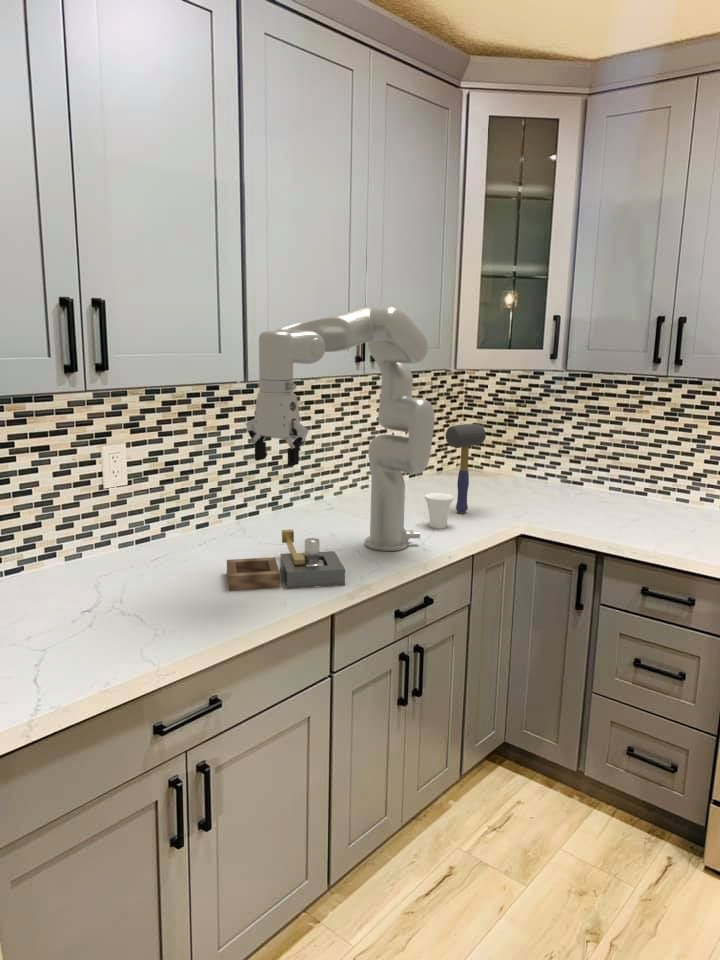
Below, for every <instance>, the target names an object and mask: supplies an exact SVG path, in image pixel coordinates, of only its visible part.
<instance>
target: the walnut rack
mask: <svg viewBox="0 0 720 960" xmlns="http://www.w3.org/2000/svg"><path fill="white" fill-rule="evenodd" d="M279 568H280V567H279V566H278V562H277V559H276V556H275V557H273V556H272V557H271V556H270V557H254V558H237V559H236V558H235V559H226V577H227V584H228V591H229V592H230V591H231V592H232V591H244V590H245V591H246V590H247V591H248V590H261V589H262V590H264V589H275V588H276V589H277V588H281V570H280V569H279Z"/></svg>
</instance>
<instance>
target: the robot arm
mask: <svg viewBox="0 0 720 960" xmlns="http://www.w3.org/2000/svg"><path fill="white" fill-rule="evenodd" d="M258 337H259V338H258V371H259V372H258V379H259V380H258V382H259V383H258V385H259V387H258V388H259V392H258V393H257V394H256V396H257V397H256V399H255V408H254V409H255V411H254V418H253V419H251V420H249V421H247V422H246V423H245V427H246V428H247V432H248V435H249V436H250V438H251V441H252V443H253V444H254V461H257V462H258V461H262V460H265V459H267V450H266V449H267V443H266V441H264V440H266V438H272V439H280V440H285V442H286V443H287V445H288V446H289V448H287V466H289V467H293V466H296V465H298V464H299V463H300V448H301V447H302V444H303V443H304V442H305V441H306V438H307V436H308V435H309V430H308V428H307V427H305V426H304V425H303V424H302V423H301V420H300V418H301V417H300V407H299V402H298V397H297V394H296V393H294V390H296V389H297V384H296V383H294V364H302V365H310V364H311V365H312V364H315V363H317V362H319V361H320V360H321V359H322V358H323V357H324V356H325V352H326V353H331V352H341V351H346V350H349V349H351V348H354V347H357V346H360V345H362V344H365V343H367V347H368V351H369V353H370V354H369V355H371V356H372V358H373V360H374V361H375V362H376V364H377V367H378V368H379V370H380V374H381V389H380V395H379V396H380V397H379V405H378V423H379V425H380V426H381V427H383V428H384V429H386V430H391V431H396V432H402V433H408V437H407V436H402V435H394V434H380V435H377V436H375V437H373V438H372V440H371V441H370V443H369V446H368V450H367V451H368V461H369V466H370V467H369V468H370V473H371V474H370V476H371V477H370V479H371V482H370V483H371V484H370V486H371V489H370V518H369V519H370V524H369V525H370V527H369V536H367V537H366V538H365V539H364V546H365V547H367V548H369V549H371V550H375V551H381V552H396V551H397V552H398V551H402V550H405V549H406V548H408V547H409V544H410V543H409V541H410V539H420V538H421V533H420V531H414V530H412V529H411V530H406V529H405V528H404V527H405V505H406V504H405V501H406V499H405V498H406V482H405V479H404V476H403V474H402V473H407V474H413V475H416V474H417V475H418V474H421V473H423V472H424V471H425V470H427V469H426V468H427V467H428V465H429V462H430V459H431V458H430V457H431V452H432V445H433V444H432V443H433V436H434V429H435V428H434V427H435V420H436V419H435V409H434V407H433V405H432V404H431V402H430V401H429V400H427V399H424V398H420V397H415V396H414V397H413V395H412V394H413V386H414V385H413V384H414V383H413V381H414V379H413V374H412V371H411V369H410V367H409V365H408V364H419V363H421V362H423V361H424V360H425V358H426V356H427V354H428V350H429V345H428V340H427V337H426V335H425V333H424V332H423V331H422V330H421V329H420V327H418V325H417V324H415V322H414V321H413V320H412V319H411V318H410V317H409V316H408V315H407V314H405V312H404V311H403V310H401V309H399V308H397V307H396V306H377V305H376V306H375V305H373V306H372V305H371V306H363V307H359V308H356V309H353V310H350V311H347V312H344V313H340V314H337V315H334V316H328V317H322V318H319V319H314V320H308V321H302V322H300V323H294V324H291V325H290V324H289V325H287V326H284V327H280V328H278V329H275V330H266V331H262V332H261V333H260V334H259V336H258Z"/></svg>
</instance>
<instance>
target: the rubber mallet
mask: <svg viewBox="0 0 720 960" xmlns="http://www.w3.org/2000/svg"><path fill="white" fill-rule="evenodd" d="M486 435H487V433H486V430H485V427H484V426H483V425H481V424H479V423H463V424H457V425H450V426H449V427H448V428H447V429H446V431H445V441H446V443H447V445H448V446H449V447H451V448H460V449H461V450H460V462H459V463H460V465H459V466H460V467H459V472H458V473H457V474H458V476H457V486H456V487H457V499H456V500H457V501H456V505H455V510H456V512H457V513H459V514H466V513H467V511H468V506H469V505H468V491H469V485H470V483H469V482H470V481H469V480H470V479H469V478H470V477H469V476H470V475H469V452H470V451H469V449H470V447H474V446H479V445H482V444H483V443H484V442H485V440H486Z"/></svg>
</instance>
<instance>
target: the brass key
mask: <svg viewBox="0 0 720 960" xmlns="http://www.w3.org/2000/svg"><path fill="white" fill-rule="evenodd" d="M294 540H295V532H294V529H281V542H282V543H283V544H286V546H287V549H288V552H289V553H290V554H291V557H292V559H293V562H294V564H295V565H298V564H305V558H304V556H303V554H302V553H303V552H297V549H296V548H295V545H294V543H295V541H294Z"/></svg>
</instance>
